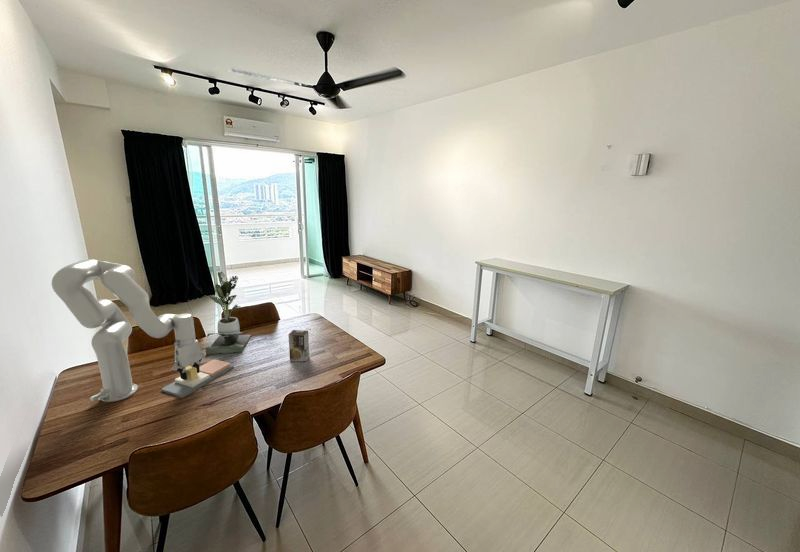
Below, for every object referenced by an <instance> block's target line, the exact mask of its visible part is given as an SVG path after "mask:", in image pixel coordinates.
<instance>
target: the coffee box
mask: <svg viewBox="0 0 800 552" xmlns="http://www.w3.org/2000/svg"><path fill="white" fill-rule="evenodd" d="M287 335H288V349H289V350H288V351H289V352H288V353H289V361H290V360H293V361H292V362H297V361H306V360H307V361H308V359H309V358H310V344H309V343H310V339H309V330H297V329H292V330H291V331H290V332H289V333H288V334H287ZM308 357H309V358H308ZM307 361H306V362H307Z"/></svg>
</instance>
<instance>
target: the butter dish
mask: <svg viewBox="0 0 800 552" xmlns="http://www.w3.org/2000/svg"><path fill="white" fill-rule="evenodd" d="M185 372H186V373H187V380H184V379H181V377H180V376H178V377H176V378H175V379H174V382H176V383H179V384H182V385H186V386H189V387H192V388H193V387H194V386H196V385H198V384H200V383H201V382H203V381H205V380H207V379H208V378H210V375H209V374H205V373H202V372H200V373H197V368H195V367H193V365H189V366H187V367H186V369H185Z"/></svg>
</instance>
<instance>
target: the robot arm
mask: <svg viewBox="0 0 800 552" xmlns="http://www.w3.org/2000/svg"><path fill="white" fill-rule="evenodd" d="M135 278H136V272H135V270H134V269H133V268H132V267H131V266H128V265H125V264H120V263H116V262H110V261H104V260H98V259H90V258H89V259H84V260H81V261H77V262H73V263H71V264H68V265H66V266H64V267H61V268H60V269H59V270H58V271H57V272H56V273H55V274H54V275H53V277H52V279H51V288H52V289H53V292H55V294H56V296H58V298H59V299H60V300H61V301H62V302H63V303H64V305H66V306H65V307H67V308H68V310H69V311H70V312H71V314H72V315H73V316H74V317H75V318H76V320H77V322H79V324H80V325H81V326H83V327H85V328H87V329H97V328H99V327H101V328H100V329H98V330H97V332H95V333H94V335H93V336H92V338H91V346H92V349H93V351H94V353H95V356H96V360H97V364H98V368H99V373H100V378H101V382H102V388H100V391H99V392H98V393H97V394H94V395H92V396H90V397H89V400H90V401H91V402H94V401H95V400H98V401H102V402H104V403H110V402H111V403H113V402H118V401H122V400H124V399H128V398H129V397H131V396H132V395H135V394H136V393H137V392H138V390H139V386H138V385H137V384H136V383H133V379H132V378H133V377H132V373H131V367H130V366H131V365H130V361H129V356H128V352H127V349H126V348H125V346H124V342H125V341H126V340H127V339H128V338H129V337H130V335H131V334H132V331H133V327H132V324H131V323H130V321H129V320H128V318H127V317H126V316H125V314H124V312H123V311H122V310H121V308H120V307H119V306H118V305H117V304H116V303H115V302H113V301H112V300H110V299H105V298H102V299H96V297H95V295H93V293H92V292H91V291H90V290H89V289H88V288H86V287H84V285H85V284H86V283H89V282H91V281H93V280H99V281H100V282H101V284H102V285H103V286H104V287H105V288H106V289H107V290H108V291H109V292H111V293H112V294H113V296H115V297H116V298H117V299H118V300H120V301H121V302H122V304H124V305H125V306H126V307H127V309H128V311H129V313H130V315H131V317H132V319H133V321H134V322H135V324H137V325H136V326H138V327H139V328H140V329H141V330H143V332H144V333H146V334H147V335H148V336H150V337H151V338H154V339H155V338H156V339H161V338H164V337H166V336H168V334H169V333H170V332H171V331H172V330H174V336H175V337H174V338H175V342H173V345H174V364H173V366H172V367H171V370H172V371H176V372H179V377H181V379H184V380H187V373H186V372H185V369H186V367H187V366H192V367H195V368H197V373H200V369H199V367H200V366H201V362H202V360H203V357H204V356H205V354H204V353H203V352H202V348H201V346H200V343H199V341H198V339H196V337H197V336H196V331H195V322H194V316H193V315H192V314H191V313H180V314H178V313H177V314H176V313H175V314H173V313H163V314H160V315H158V316H157V315H156V314H155V313H154V311H153V310H152V308H151V306H150V296H149V294H148V293H147V291H145V289H144V288H143V287H141V285H139V284H138V283H137V282H136V281H135Z"/></svg>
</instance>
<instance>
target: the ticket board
mask: <svg viewBox="0 0 800 552" xmlns="http://www.w3.org/2000/svg"><path fill="white" fill-rule="evenodd" d="M199 369H200V372H202V373H205V374H209V375H210V378H208V379H207V380H205V381H203V382H201V383H200V384H198V385H196V386H194V387H193V388H192V387H189V386H186V385H182V384H179V383H176V382H175V381H173V382H171V383H169V384H168V385H165V386H164V387H162V388H160V389H161V392H163V393H166V394H169V395H172V396H175V397H178V398H181V399H182V398H185V397H186V396H188V395H190V394H192V393H193V392H195V391H197V390H198V389H200V388H202V387H203V386H206V385H207V384H208V383H209V384H210V382H212V381H214V380H215V379H217V378H219V377H221V376H222V375H224V374H226V373H227V372H228V371H230V370H232V369H234V365H233V364H231V363H229V362H226V361H222V360H218V359H215V358H213V359H212V360H210V361H207V362H205V363H204V364H202V365H199Z"/></svg>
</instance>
